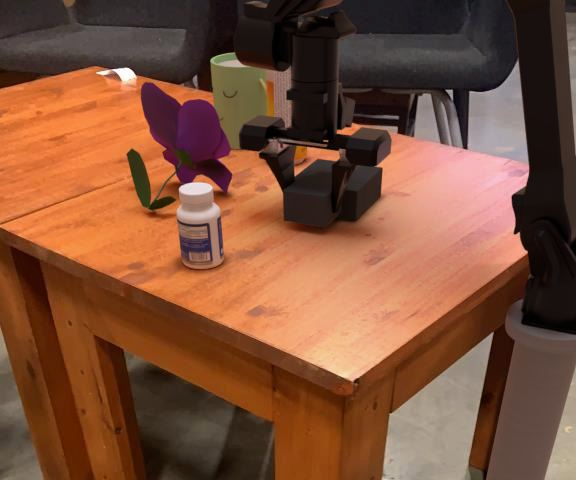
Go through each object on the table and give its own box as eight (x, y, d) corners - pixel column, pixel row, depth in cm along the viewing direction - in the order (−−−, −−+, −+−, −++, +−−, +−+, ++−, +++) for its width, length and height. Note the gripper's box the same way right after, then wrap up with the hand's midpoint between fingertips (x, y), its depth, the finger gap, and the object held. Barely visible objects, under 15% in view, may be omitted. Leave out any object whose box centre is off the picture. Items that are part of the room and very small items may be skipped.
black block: (349, 205, 105) (350, 175, 102) (325, 228, 99) (325, 196, 97) (309, 199, 107) (309, 169, 104) (283, 221, 101) (282, 190, 99)
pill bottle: (202, 248, 98) (196, 176, 92) (232, 259, 95) (228, 186, 89) (172, 262, 95) (163, 189, 89) (203, 274, 92) (196, 199, 86)
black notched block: (381, 196, 110) (382, 167, 107) (355, 221, 104) (357, 191, 101) (317, 186, 113) (317, 158, 111) (289, 210, 107) (288, 181, 104)
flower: (208, 254, 108) (254, 183, 111) (164, 172, 95) (218, 93, 98) (131, 233, 114) (177, 165, 117) (79, 153, 101) (133, 79, 104)
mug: (203, 138, 131) (196, 59, 123) (252, 126, 135) (249, 49, 127) (245, 157, 123) (241, 74, 115) (296, 144, 128) (295, 63, 120)
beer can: (308, 154, 124) (308, 48, 114) (305, 166, 120) (305, 58, 110) (271, 153, 125) (268, 48, 115) (266, 166, 120) (263, 57, 110)
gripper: (410, 68, 94) (400, 198, 104) (273, 56, 100) (276, 179, 110) (379, 91, 86) (371, 228, 97) (233, 76, 92) (240, 206, 103)
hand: (313, 208), depth 102 cm, fingers closed on black block, 6 cm apart
